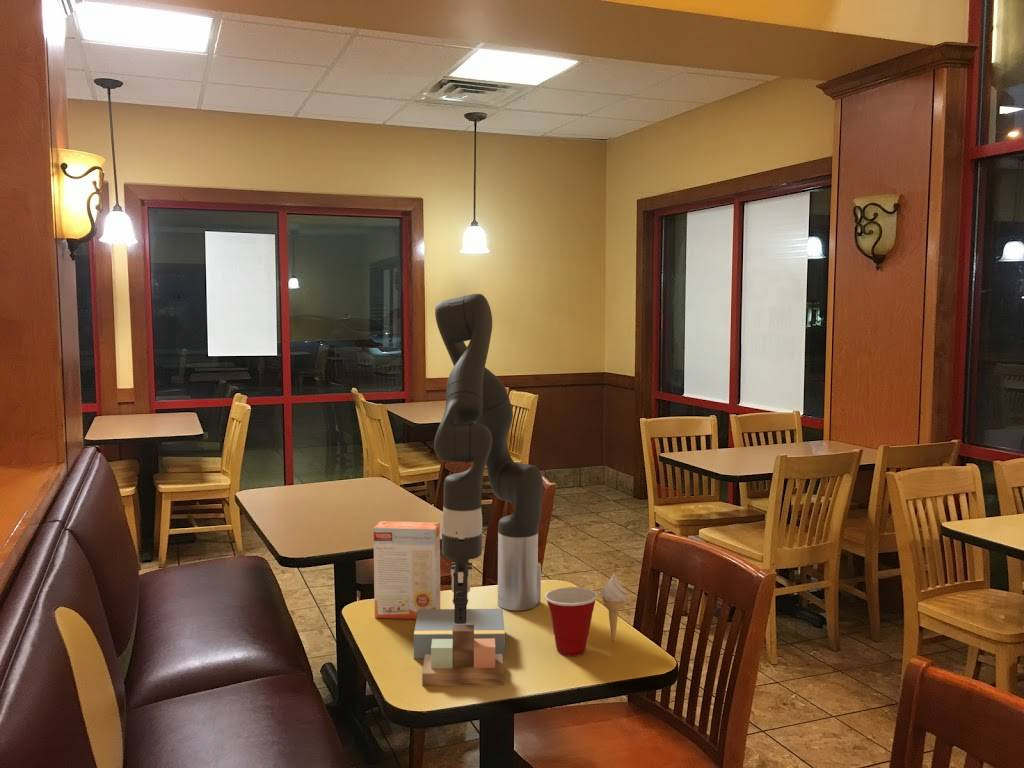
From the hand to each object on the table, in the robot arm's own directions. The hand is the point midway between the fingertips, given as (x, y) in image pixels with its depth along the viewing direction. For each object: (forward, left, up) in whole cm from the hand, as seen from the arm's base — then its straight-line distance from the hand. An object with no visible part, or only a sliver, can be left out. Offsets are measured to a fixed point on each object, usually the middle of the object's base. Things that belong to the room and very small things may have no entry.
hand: (461, 614), depth 157 cm
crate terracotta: (-4, +2, -10) cm, 11 cm away
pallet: (0, 0, -12) cm, 12 cm away
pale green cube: (+3, -2, -10) cm, 10 cm away
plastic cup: (-24, +3, -12) cm, 28 cm away
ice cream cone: (-34, +5, -12) cm, 37 cm away
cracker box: (-6, -32, -12) cm, 35 cm away
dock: (-7, -12, -12) cm, 18 cm away
